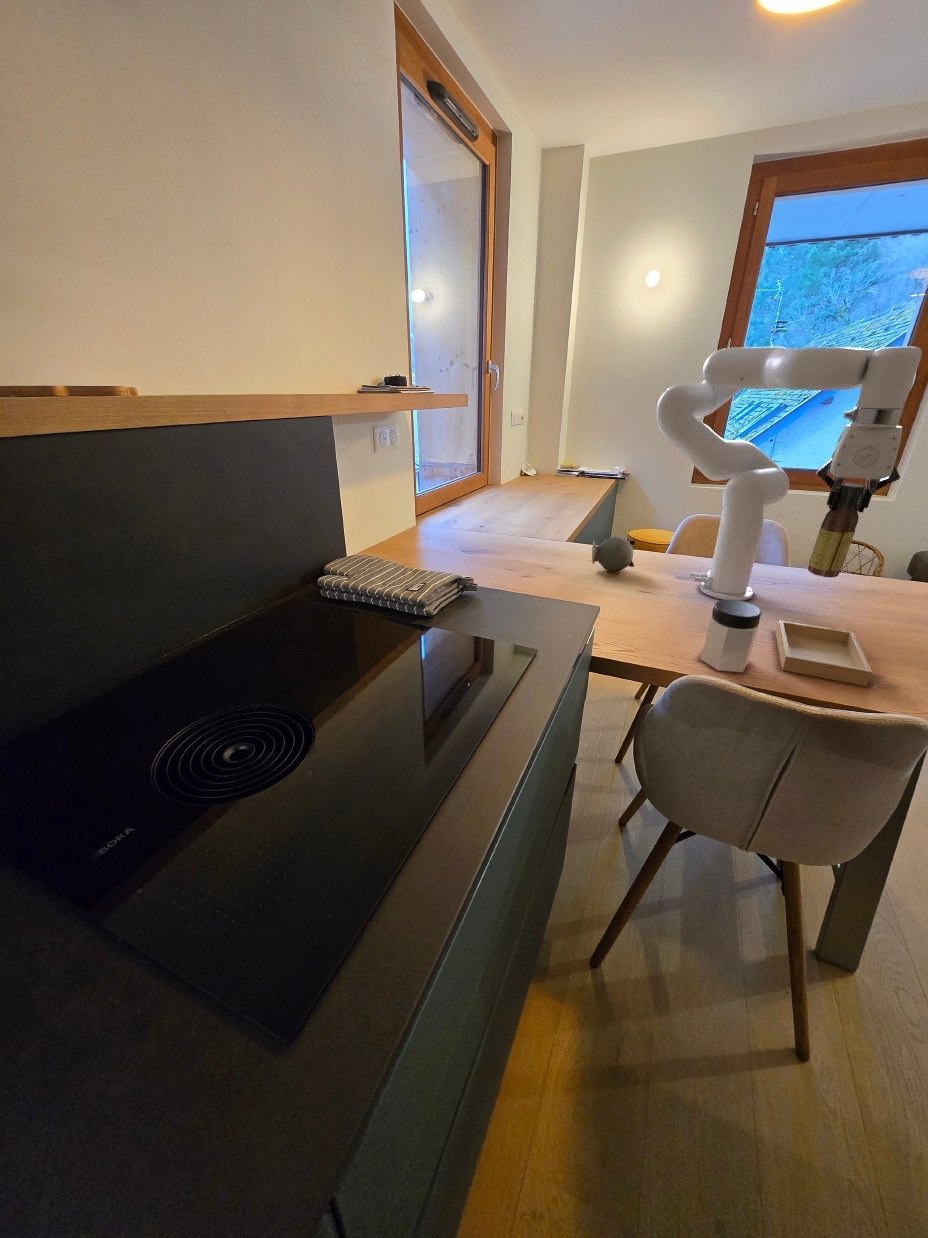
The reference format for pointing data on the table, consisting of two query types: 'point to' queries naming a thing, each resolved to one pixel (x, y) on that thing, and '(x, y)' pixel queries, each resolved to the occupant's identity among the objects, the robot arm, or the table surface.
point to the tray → (822, 653)
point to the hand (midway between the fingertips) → (845, 509)
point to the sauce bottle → (836, 533)
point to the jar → (731, 635)
